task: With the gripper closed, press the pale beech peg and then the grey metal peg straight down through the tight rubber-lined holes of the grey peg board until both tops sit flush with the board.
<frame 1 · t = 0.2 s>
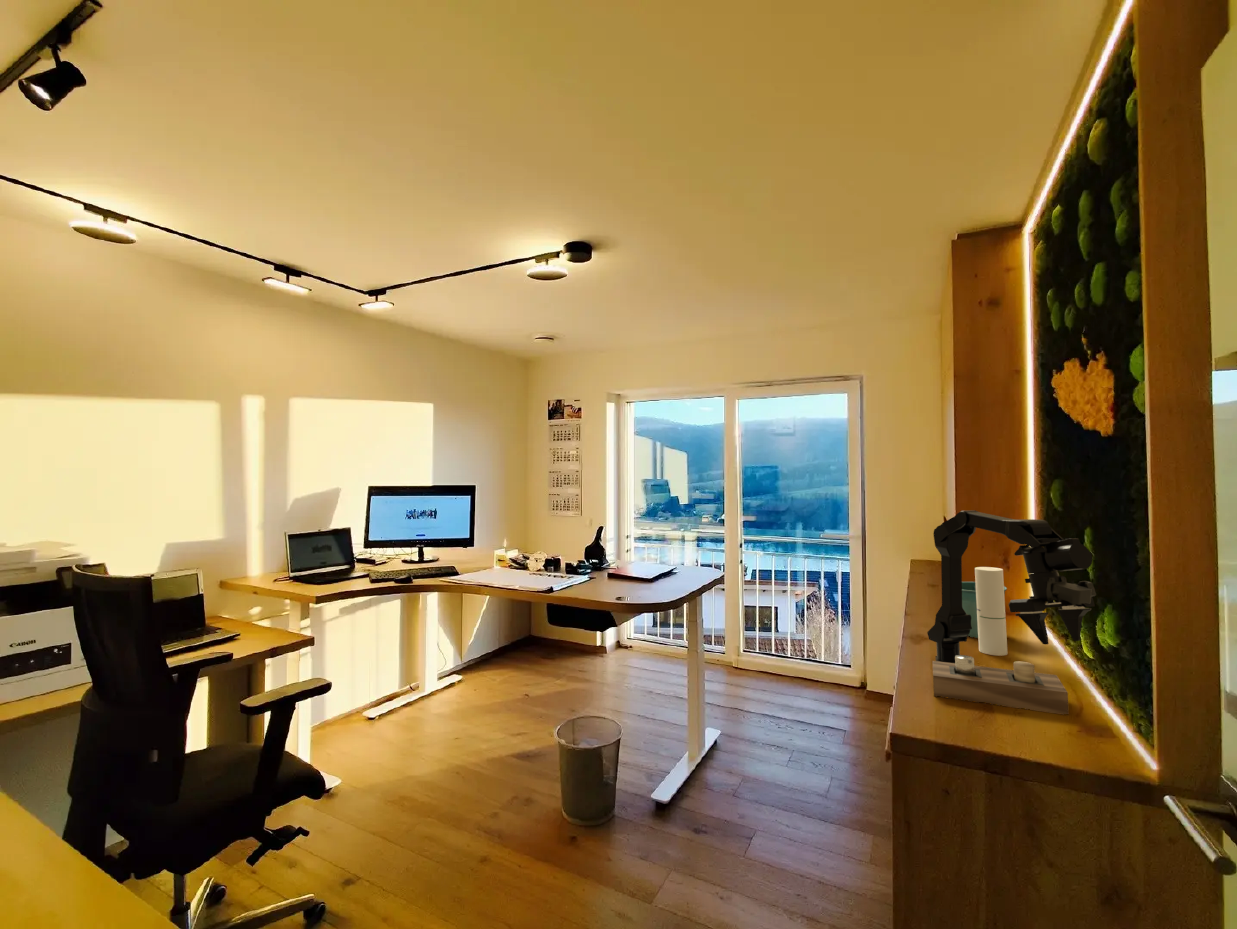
hand: (1061, 642, 125), 15 cm above the sideboard, tool pointing down, fingers open, 9 cm apart
cylindrical container: (993, 652, 166), on the sideboard
flower pot: (979, 634, 184), on the sideboard
metal peg: (964, 667, 137), point 6 cm above the sideboard, slide at 0.0 cm
beech peg: (1024, 674, 131), point 6 cm above the sideboard, slide at 0.0 cm
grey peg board: (995, 696, 133), on the sideboard
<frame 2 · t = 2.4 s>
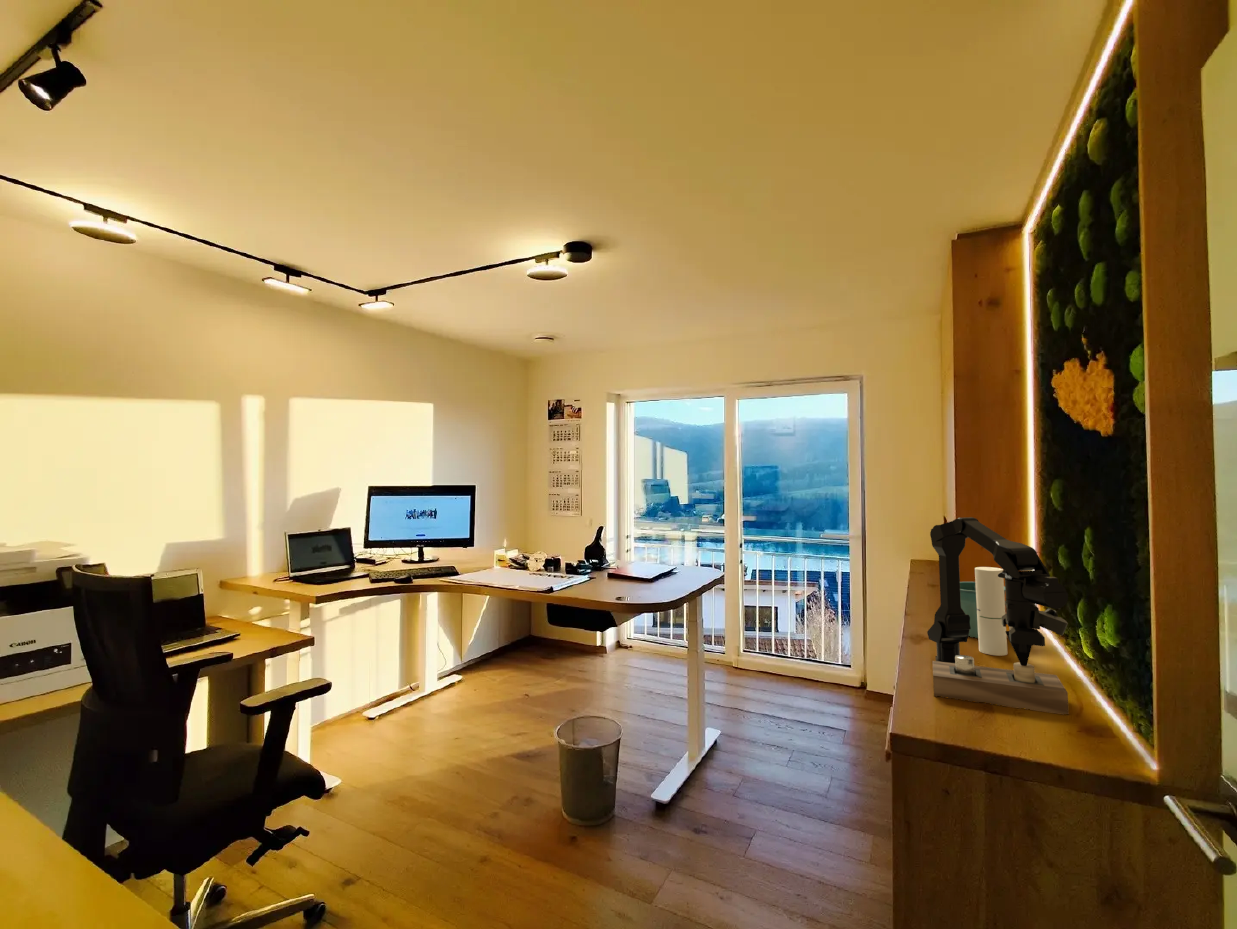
hand: (1023, 665, 131), 8 cm above the sideboard, tool pointing down, fingers closed, pressing on beech peg
beech peg: (1024, 675, 131), point 6 cm above the sideboard, slide at 0.3 cm, touching gripper
everything else where it was.
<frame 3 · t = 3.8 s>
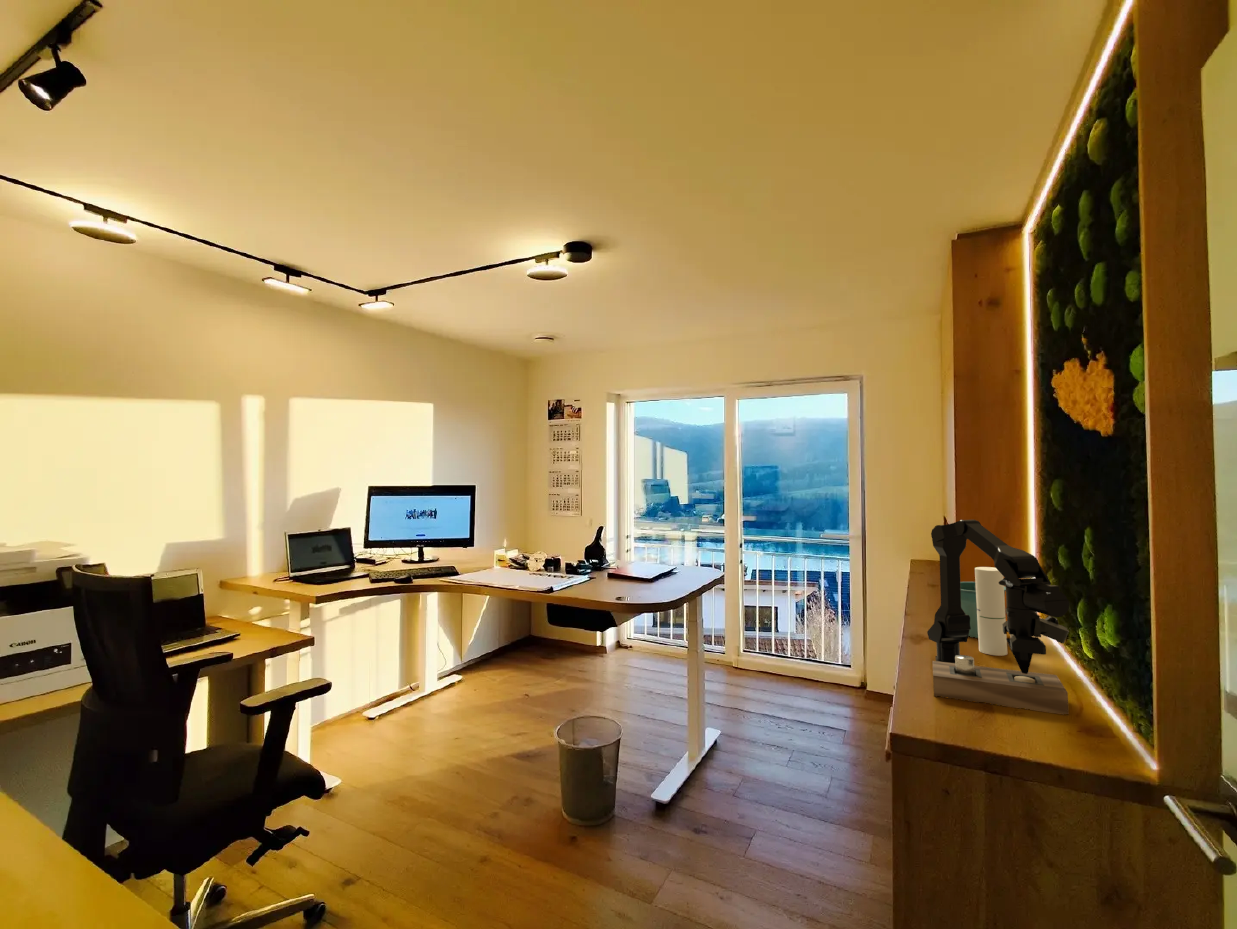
hand: (1024, 673, 131), 6 cm above the sideboard, tool pointing down, fingers closed
beech peg: (1025, 689, 131), point 3 cm above the sideboard, slide at 3.5 cm
everything else where it was.
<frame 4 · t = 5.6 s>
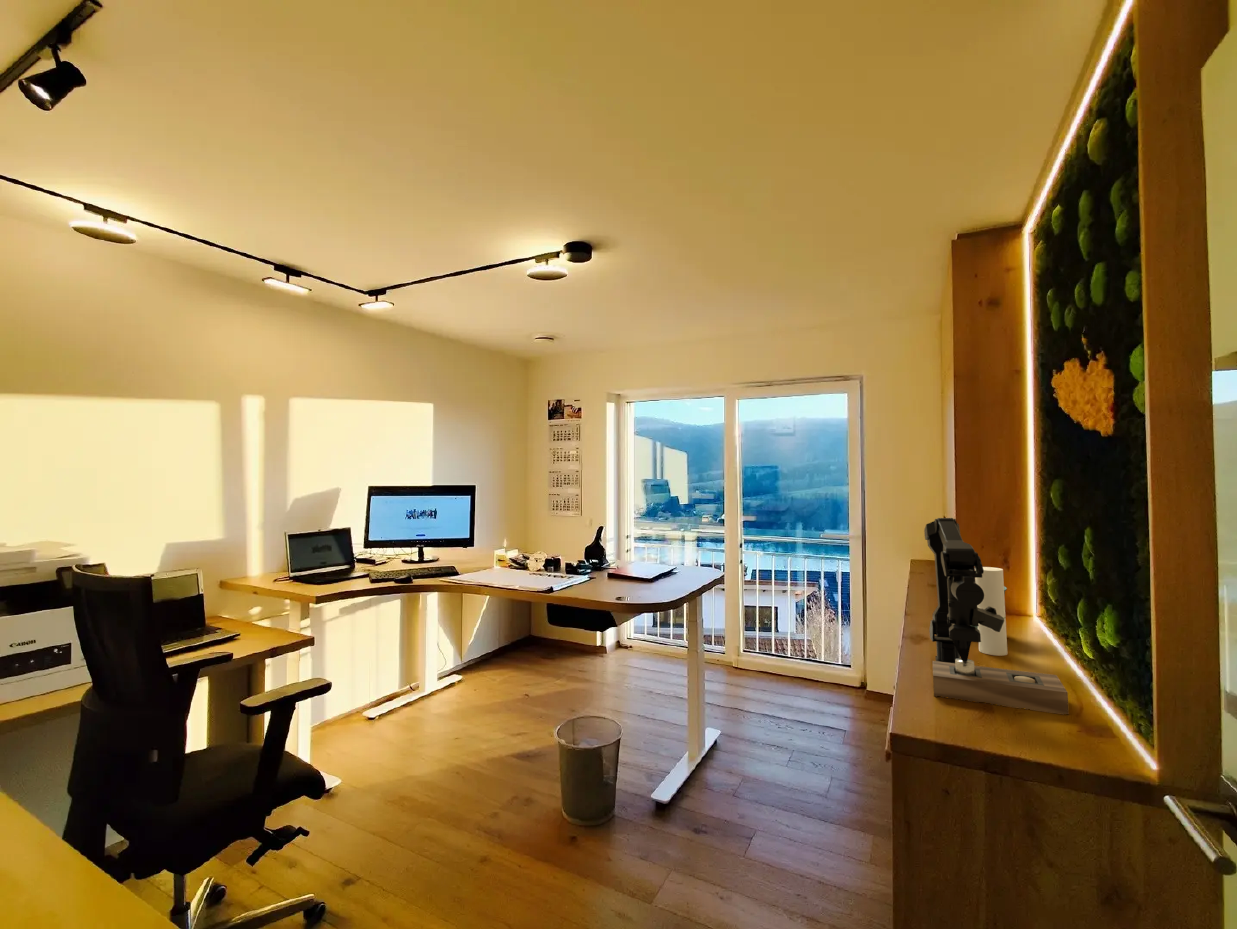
hand: (964, 660, 137), 8 cm above the sideboard, tool pointing down, fingers closed, pressing on metal peg
metal peg: (965, 670, 137), point 5 cm above the sideboard, slide at 0.8 cm, touching gripper
everything else where it was.
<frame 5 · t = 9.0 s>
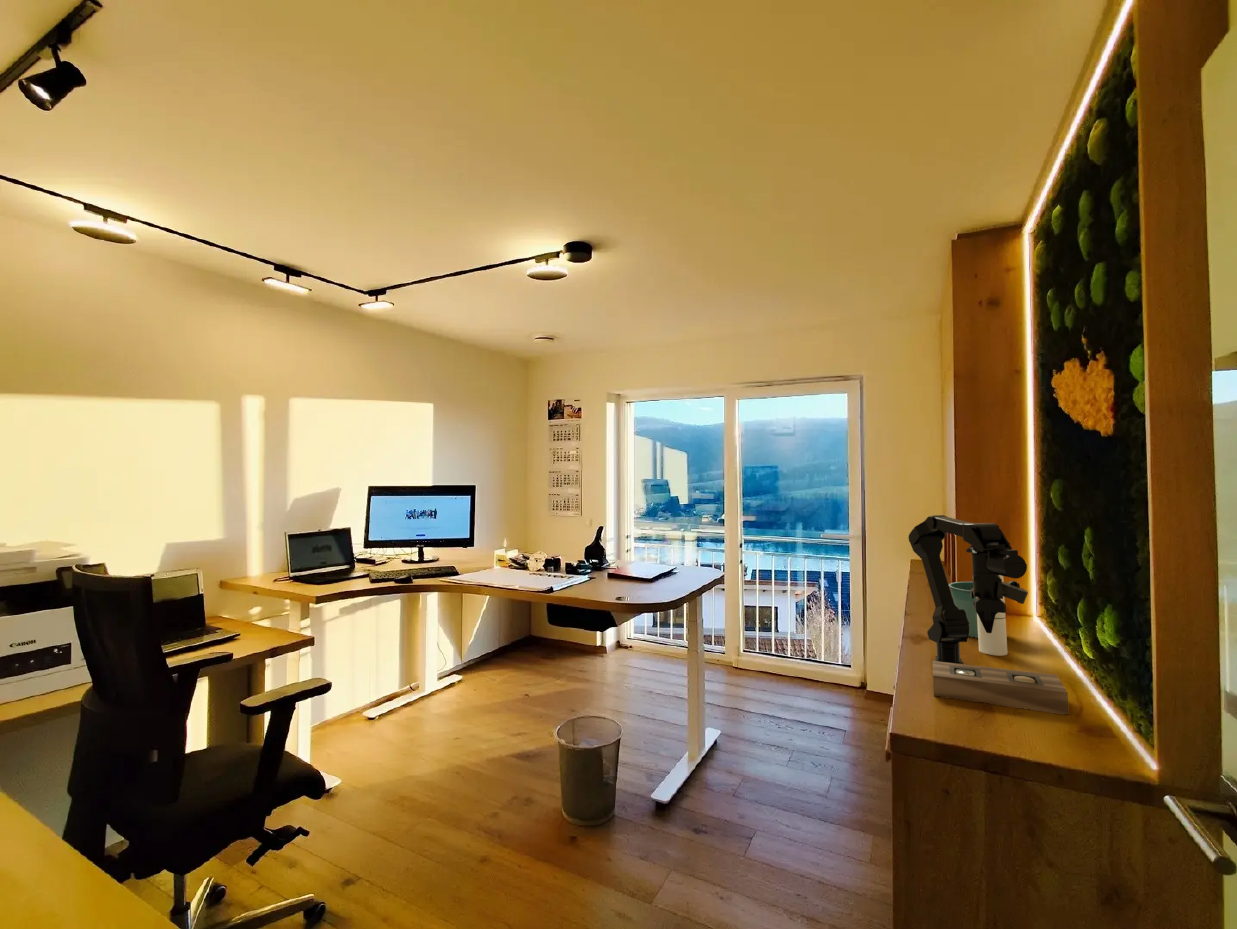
hand: (988, 632, 142), 13 cm above the sideboard, tool pointing down, fingers closed
metal peg: (965, 681, 136), point 3 cm above the sideboard, slide at 3.6 cm
everything else where it was.
at the end: beech peg slide at 3.5 cm; metal peg slide at 3.6 cm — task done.
